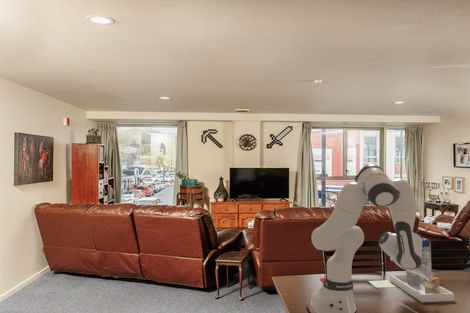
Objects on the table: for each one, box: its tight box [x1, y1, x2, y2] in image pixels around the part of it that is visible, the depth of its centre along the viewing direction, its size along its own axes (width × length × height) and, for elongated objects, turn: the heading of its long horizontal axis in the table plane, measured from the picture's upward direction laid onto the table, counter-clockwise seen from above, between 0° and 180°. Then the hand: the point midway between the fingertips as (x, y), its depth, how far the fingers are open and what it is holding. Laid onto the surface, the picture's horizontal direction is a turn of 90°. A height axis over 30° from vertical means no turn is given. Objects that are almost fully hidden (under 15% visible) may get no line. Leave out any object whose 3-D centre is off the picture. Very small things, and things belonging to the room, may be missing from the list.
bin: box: [389, 273, 455, 303], centre depth 168 cm, size 16×29×4 cm, turn 2°
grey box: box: [406, 270, 420, 286], centre depth 177 cm, size 4×4×7 cm
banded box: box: [424, 275, 440, 294], centre depth 161 cm, size 5×5×9 cm
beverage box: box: [421, 237, 433, 272], centre depth 194 cm, size 7×11×22 cm, turn 7°
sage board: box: [367, 279, 397, 290], centre depth 179 cm, size 11×10×1 cm
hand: (423, 277), depth 159 cm, fingers open, 8 cm apart
